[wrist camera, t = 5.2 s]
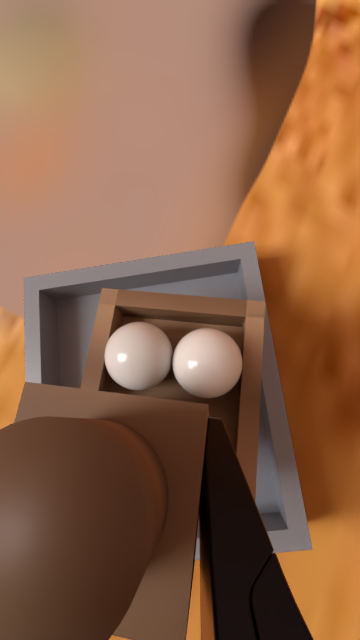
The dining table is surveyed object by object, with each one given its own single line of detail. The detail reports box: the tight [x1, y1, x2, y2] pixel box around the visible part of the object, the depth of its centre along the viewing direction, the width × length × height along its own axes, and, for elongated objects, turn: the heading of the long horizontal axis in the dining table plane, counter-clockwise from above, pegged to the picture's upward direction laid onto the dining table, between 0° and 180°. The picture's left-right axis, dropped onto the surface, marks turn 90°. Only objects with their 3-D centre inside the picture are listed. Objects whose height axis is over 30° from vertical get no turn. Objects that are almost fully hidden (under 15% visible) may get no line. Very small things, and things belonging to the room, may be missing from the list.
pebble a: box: [172, 328, 243, 398], centre depth 14 cm, size 3×3×3 cm
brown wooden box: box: [0, 288, 265, 640], centre depth 10 cm, size 9×8×12 cm
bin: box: [24, 241, 312, 560], centre depth 20 cm, size 17×15×3 cm
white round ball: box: [104, 322, 173, 390], centre depth 14 cm, size 3×3×3 cm
